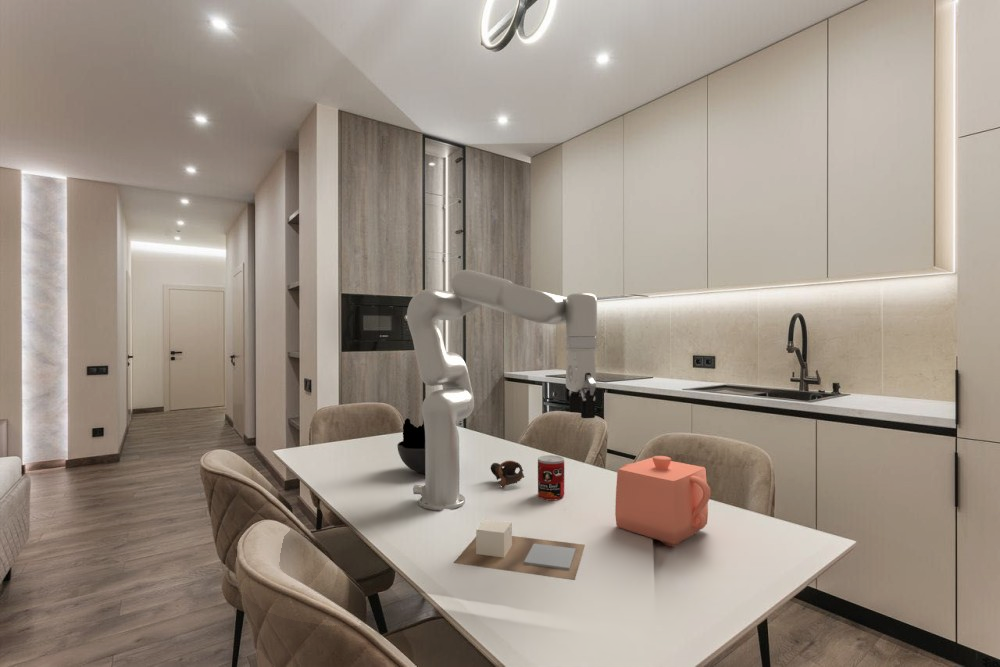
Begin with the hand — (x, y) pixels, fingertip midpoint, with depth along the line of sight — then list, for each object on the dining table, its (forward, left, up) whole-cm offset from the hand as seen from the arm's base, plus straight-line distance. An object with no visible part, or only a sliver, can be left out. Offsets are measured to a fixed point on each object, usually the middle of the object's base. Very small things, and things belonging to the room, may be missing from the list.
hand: (581, 414), depth 118 cm
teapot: (+20, +6, -28) cm, 35 cm away
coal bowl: (-58, +35, -28) cm, 73 cm away
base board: (-10, -21, -28) cm, 36 cm away
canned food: (-12, +22, -28) cm, 37 cm away
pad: (-4, -21, -26) cm, 33 cm away
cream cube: (-16, -21, -26) cm, 37 cm away
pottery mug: (-28, +31, -28) cm, 50 cm away
